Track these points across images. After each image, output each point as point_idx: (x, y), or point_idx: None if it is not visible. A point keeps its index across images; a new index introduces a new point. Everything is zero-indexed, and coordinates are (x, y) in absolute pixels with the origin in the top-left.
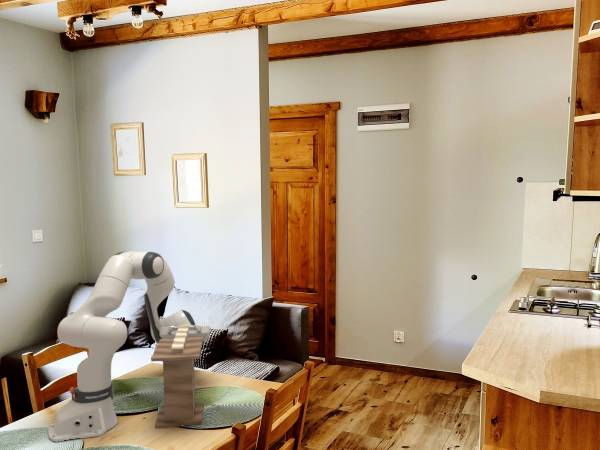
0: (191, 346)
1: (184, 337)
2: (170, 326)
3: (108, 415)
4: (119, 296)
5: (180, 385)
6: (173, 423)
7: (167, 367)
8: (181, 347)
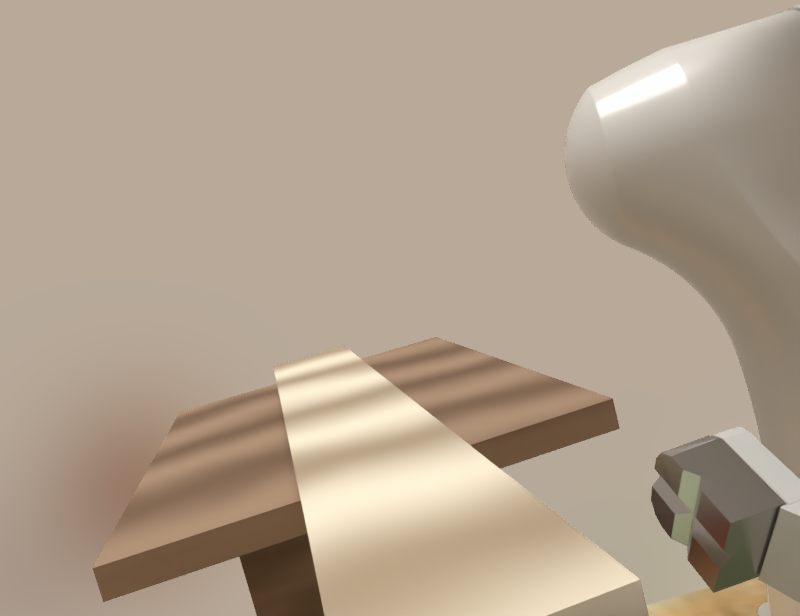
0: (230, 438)
1: (294, 410)
2: (720, 432)
3: (778, 599)
4: None
5: None
6: None
7: None
8: (282, 366)
